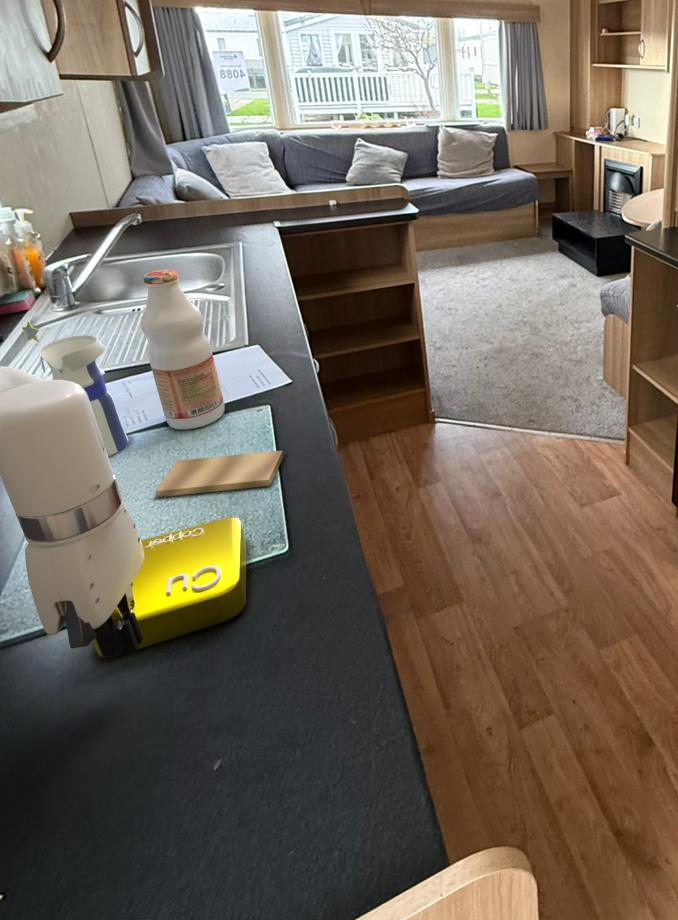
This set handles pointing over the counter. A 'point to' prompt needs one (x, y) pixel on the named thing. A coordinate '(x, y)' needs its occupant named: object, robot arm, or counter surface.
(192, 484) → the wooden board
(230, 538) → the element tile
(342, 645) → the counter surface
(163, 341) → the fruit juice
